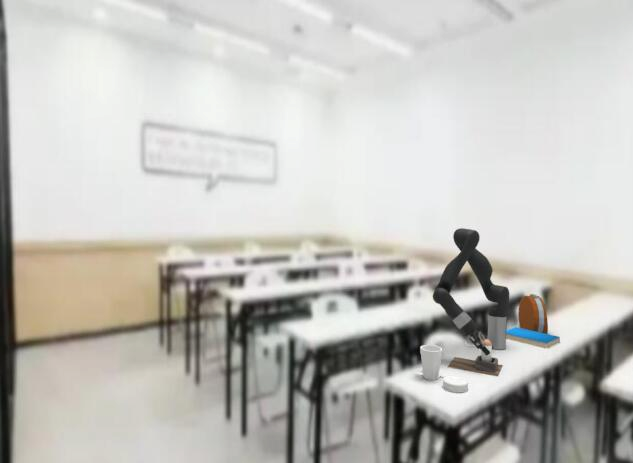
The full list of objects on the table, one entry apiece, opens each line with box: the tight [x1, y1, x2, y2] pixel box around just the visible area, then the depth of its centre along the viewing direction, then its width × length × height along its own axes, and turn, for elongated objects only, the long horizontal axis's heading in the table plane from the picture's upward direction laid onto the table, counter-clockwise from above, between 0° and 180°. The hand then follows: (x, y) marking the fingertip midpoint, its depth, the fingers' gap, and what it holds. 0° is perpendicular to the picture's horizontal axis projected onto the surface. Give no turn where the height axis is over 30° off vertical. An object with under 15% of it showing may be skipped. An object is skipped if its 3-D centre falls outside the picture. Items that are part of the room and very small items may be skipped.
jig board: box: [447, 354, 504, 377], centre depth 208 cm, size 16×22×5 cm
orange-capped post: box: [480, 339, 493, 363], centre depth 206 cm, size 4×4×13 cm
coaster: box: [442, 375, 469, 394], centre depth 186 cm, size 10×10×4 cm
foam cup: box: [419, 344, 443, 381], centre depth 197 cm, size 10×9×13 cm
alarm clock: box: [517, 293, 549, 334], centre depth 270 cm, size 22×10×23 cm, turn 179°
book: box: [506, 326, 561, 349], centre depth 253 cm, size 17×4×25 cm
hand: (490, 351), depth 205 cm, fingers open, 8 cm apart
